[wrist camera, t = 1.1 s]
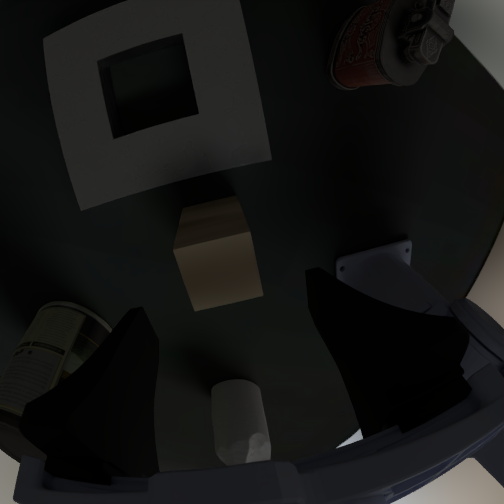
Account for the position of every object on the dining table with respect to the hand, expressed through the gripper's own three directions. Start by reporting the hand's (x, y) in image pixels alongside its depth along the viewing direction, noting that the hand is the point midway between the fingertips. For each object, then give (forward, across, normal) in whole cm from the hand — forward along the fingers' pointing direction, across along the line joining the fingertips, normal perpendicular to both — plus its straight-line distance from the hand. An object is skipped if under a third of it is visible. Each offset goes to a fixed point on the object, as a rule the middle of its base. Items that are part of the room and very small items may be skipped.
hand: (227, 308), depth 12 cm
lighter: (+11, -13, -12) cm, 20 cm away
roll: (+11, +3, +20) cm, 23 cm away
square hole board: (+10, +2, -11) cm, 15 cm away
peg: (+10, 0, 0) cm, 10 cm away
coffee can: (+11, +17, +8) cm, 22 cm away
